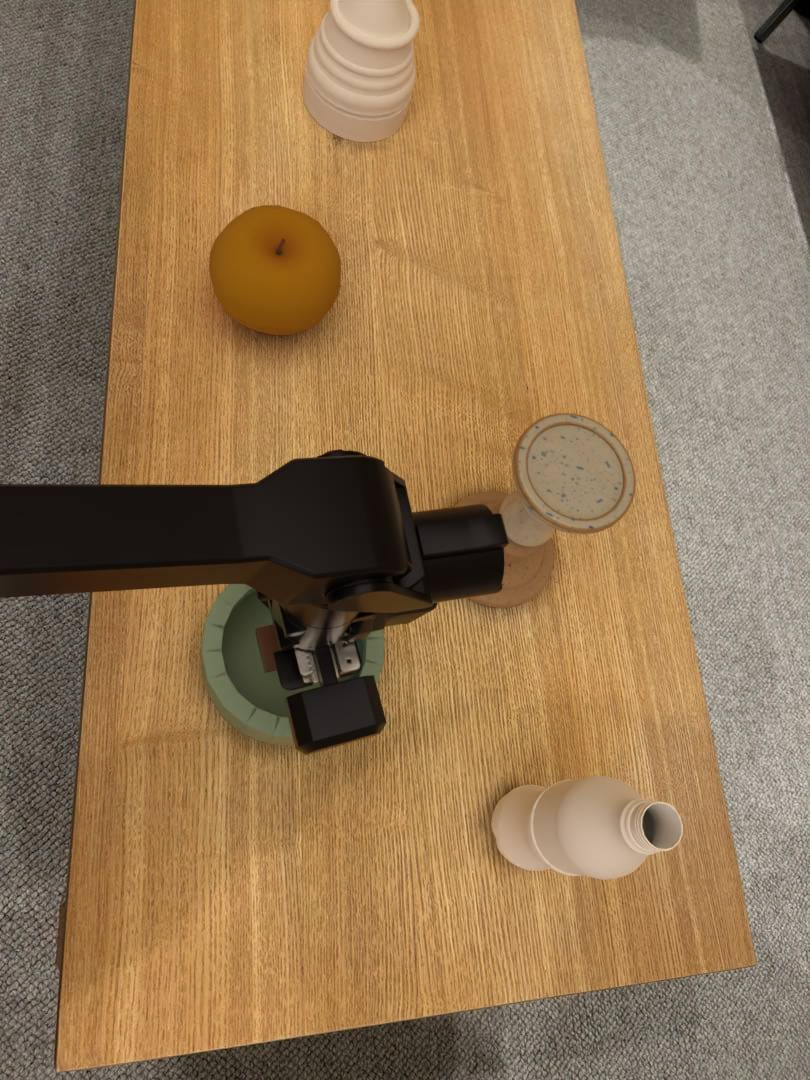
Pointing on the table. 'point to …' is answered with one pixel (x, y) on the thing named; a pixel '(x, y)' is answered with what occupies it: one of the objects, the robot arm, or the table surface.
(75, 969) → the table surface
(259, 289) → the apple
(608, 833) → the water bottle
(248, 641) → the bowl
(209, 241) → the table surface
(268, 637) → the stamp
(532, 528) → the candle holder
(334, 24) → the honey pot
